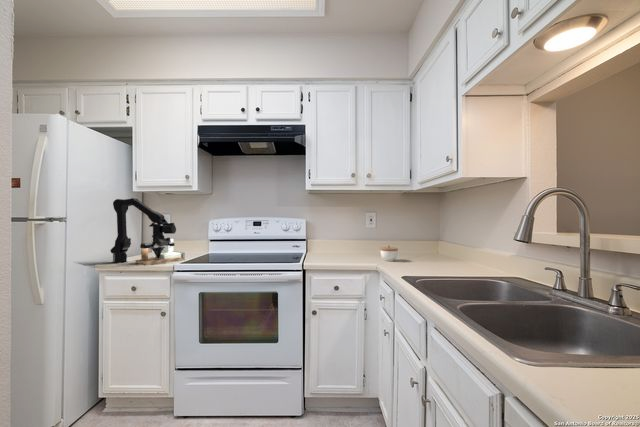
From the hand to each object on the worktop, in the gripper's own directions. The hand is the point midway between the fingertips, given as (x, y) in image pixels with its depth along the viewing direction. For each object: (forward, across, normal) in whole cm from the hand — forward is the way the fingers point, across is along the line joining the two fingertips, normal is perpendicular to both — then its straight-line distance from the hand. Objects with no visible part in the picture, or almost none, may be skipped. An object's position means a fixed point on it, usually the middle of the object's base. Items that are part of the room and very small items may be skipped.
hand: (157, 258), depth 192 cm
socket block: (+1, +7, 0) cm, 7 cm away
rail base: (+2, +2, 0) cm, 3 cm away
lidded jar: (+2, +86, -118) cm, 146 cm away
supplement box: (+2, +14, +17) cm, 22 cm away
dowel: (+2, -1, +15) cm, 15 cm away
